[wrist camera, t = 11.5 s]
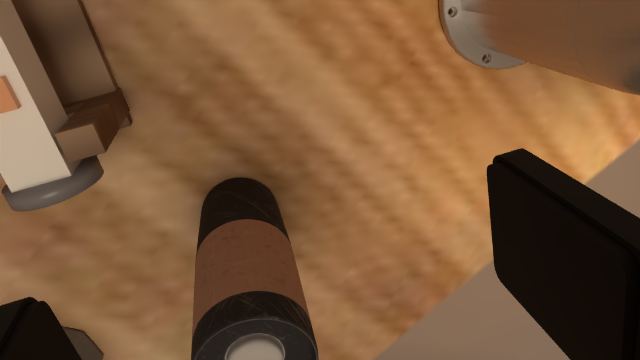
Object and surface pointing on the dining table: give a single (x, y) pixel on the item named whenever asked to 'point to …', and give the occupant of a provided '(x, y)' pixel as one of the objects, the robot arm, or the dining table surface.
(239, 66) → the dining table surface
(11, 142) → the white bar grey caps
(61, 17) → the walnut rack
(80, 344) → the coffeepot
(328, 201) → the dining table surface
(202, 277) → the travel mug
